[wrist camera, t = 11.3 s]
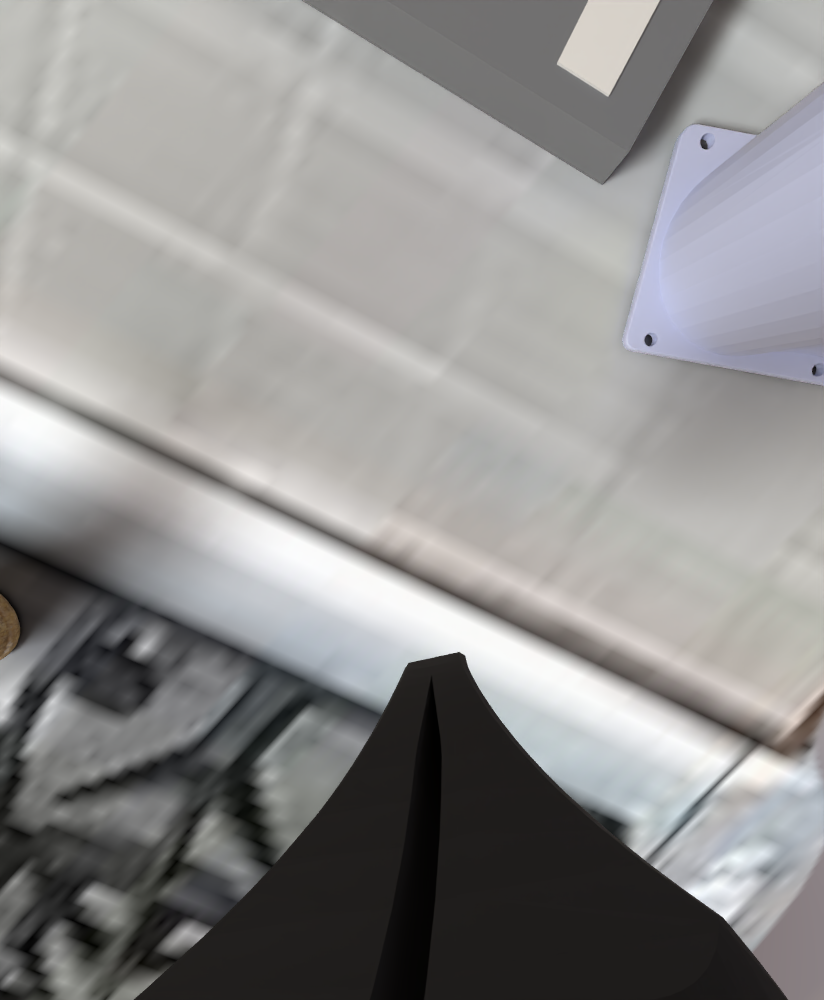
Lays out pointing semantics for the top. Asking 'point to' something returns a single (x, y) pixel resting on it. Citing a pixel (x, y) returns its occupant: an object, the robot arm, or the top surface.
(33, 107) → the top surface
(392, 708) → the robot arm
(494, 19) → the box
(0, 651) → the sprinkles bottle
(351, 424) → the top surface
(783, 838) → the top surface
